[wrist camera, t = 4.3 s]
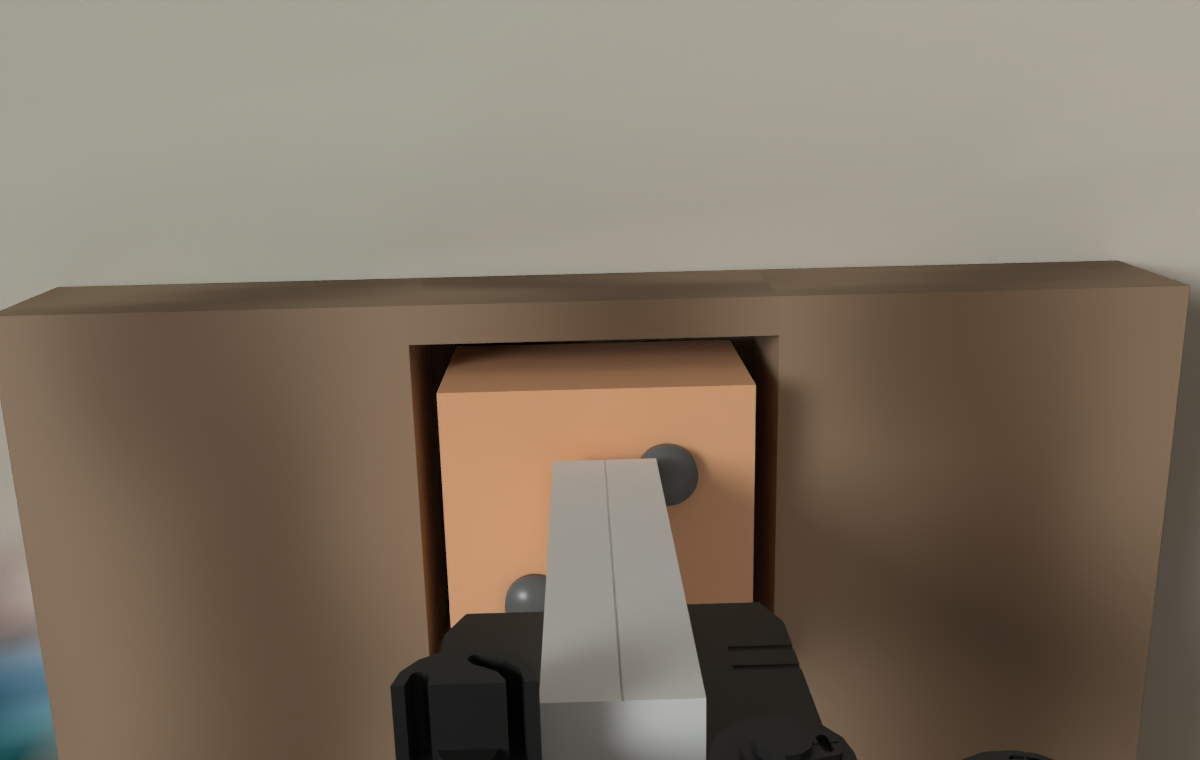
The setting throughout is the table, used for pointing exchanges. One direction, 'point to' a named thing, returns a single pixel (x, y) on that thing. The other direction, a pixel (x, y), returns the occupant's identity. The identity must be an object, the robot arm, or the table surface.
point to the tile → (593, 458)
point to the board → (574, 313)
